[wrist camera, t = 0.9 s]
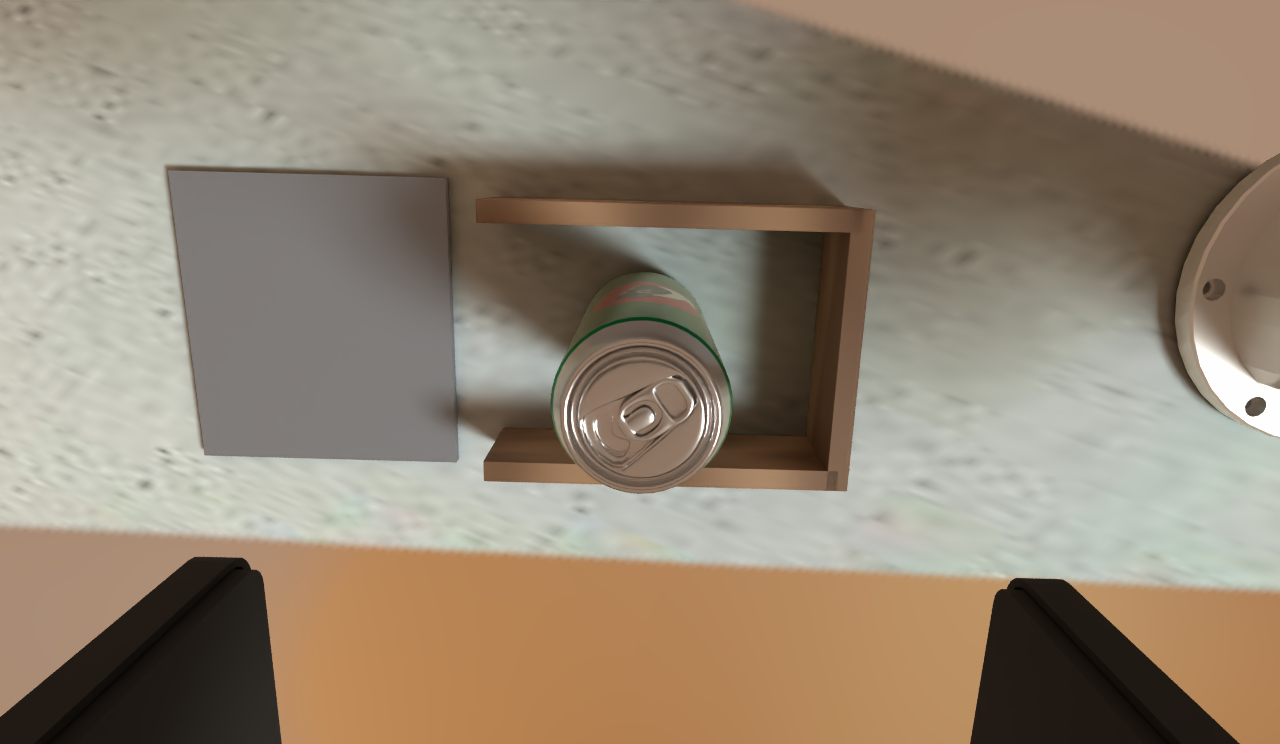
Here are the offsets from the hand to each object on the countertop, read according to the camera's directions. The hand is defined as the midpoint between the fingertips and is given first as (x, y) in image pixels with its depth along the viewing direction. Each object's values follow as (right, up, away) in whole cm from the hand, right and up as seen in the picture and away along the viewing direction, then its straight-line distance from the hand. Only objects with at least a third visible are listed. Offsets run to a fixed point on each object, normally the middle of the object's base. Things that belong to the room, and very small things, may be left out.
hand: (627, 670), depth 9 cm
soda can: (0, +6, +22) cm, 23 cm away
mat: (-13, +6, +22) cm, 26 cm away
